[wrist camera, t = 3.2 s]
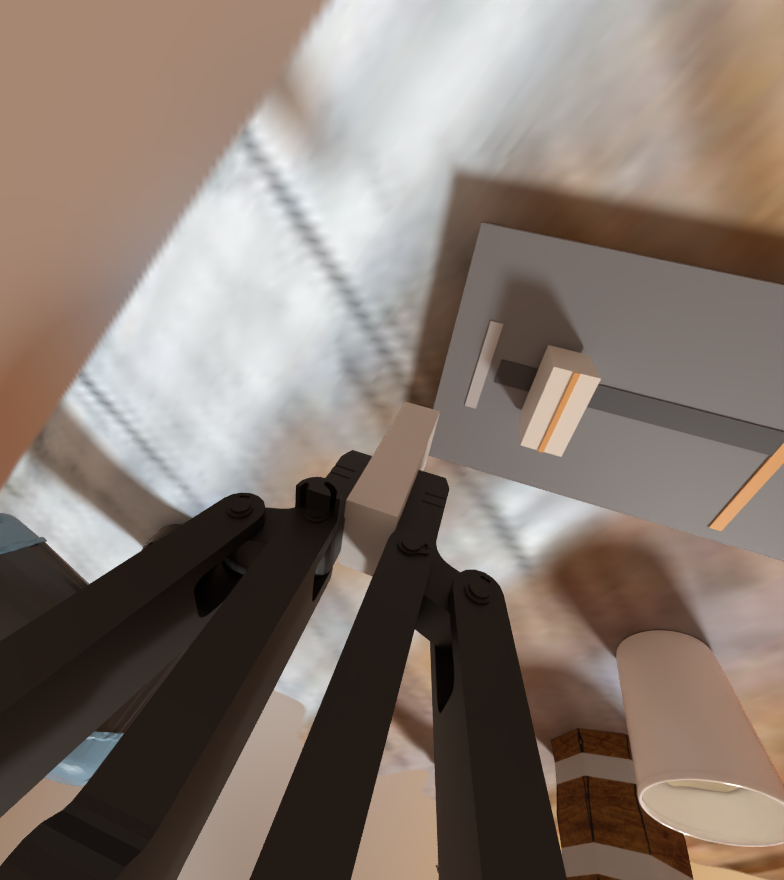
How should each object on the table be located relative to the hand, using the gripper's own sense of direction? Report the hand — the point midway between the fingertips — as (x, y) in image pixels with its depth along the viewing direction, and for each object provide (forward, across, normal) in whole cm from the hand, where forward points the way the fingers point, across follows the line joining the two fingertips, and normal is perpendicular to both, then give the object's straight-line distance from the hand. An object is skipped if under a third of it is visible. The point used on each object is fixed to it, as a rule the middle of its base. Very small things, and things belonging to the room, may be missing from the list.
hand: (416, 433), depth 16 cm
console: (+14, +15, 0) cm, 20 cm away
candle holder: (+14, +28, -25) cm, 40 cm away
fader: (+11, +7, 0) cm, 13 cm away
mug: (+14, +35, -49) cm, 62 cm away
